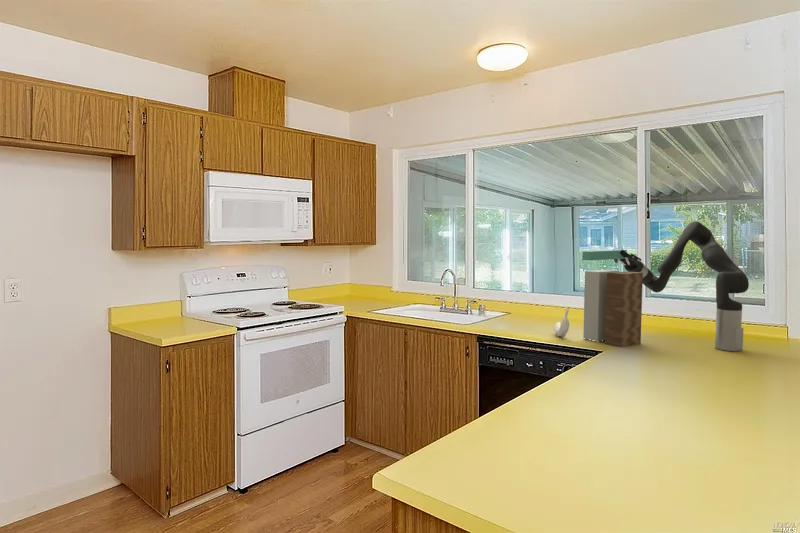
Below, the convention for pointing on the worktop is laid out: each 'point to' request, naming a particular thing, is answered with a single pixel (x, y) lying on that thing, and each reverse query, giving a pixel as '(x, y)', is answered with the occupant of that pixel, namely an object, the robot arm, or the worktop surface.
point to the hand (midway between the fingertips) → (617, 251)
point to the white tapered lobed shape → (562, 326)
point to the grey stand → (595, 304)
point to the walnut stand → (623, 308)
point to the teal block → (602, 255)
